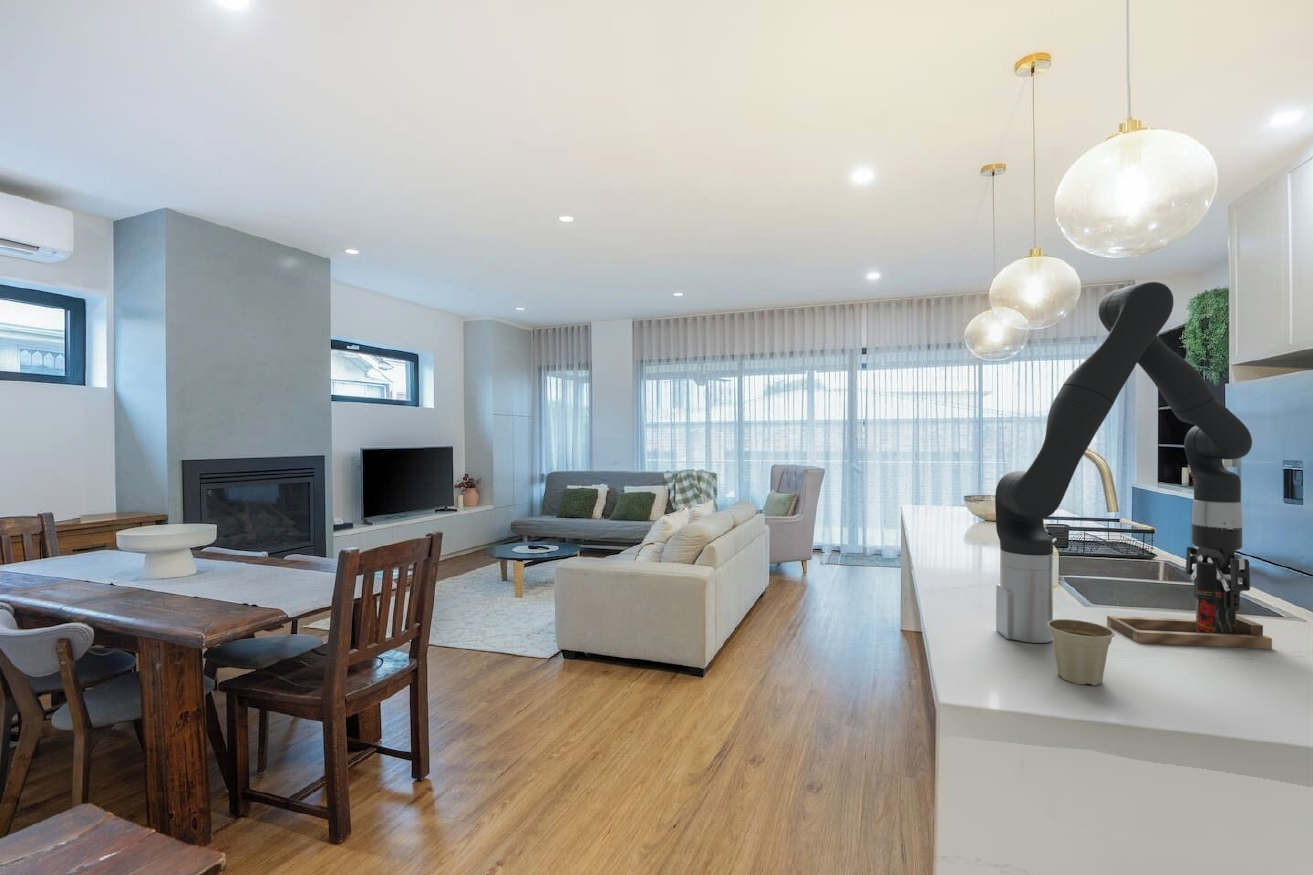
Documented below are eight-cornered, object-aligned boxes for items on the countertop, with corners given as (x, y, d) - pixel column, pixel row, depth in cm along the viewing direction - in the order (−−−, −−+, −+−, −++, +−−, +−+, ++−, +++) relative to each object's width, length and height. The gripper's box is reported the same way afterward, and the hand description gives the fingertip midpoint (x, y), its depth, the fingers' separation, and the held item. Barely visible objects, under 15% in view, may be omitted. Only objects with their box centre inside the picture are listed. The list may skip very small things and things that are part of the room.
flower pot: (1117, 695, 99) (1117, 640, 99) (1046, 682, 104) (1046, 630, 104) (1112, 675, 107) (1112, 624, 107) (1046, 664, 112) (1047, 616, 112)
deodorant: (1243, 643, 123) (1244, 567, 122) (1207, 641, 124) (1208, 565, 124) (1222, 634, 128) (1223, 560, 128) (1189, 632, 130) (1189, 559, 129)
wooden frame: (1137, 642, 124) (1137, 622, 124) (1107, 625, 134) (1107, 606, 134) (1272, 648, 120) (1272, 627, 120) (1229, 630, 131) (1229, 611, 131)
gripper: (1172, 518, 134) (1171, 594, 134) (1220, 528, 119) (1220, 613, 120) (1212, 519, 132) (1211, 596, 132) (1266, 529, 118) (1265, 615, 118)
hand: (1215, 604), depth 126 cm, fingers open, 8 cm apart
